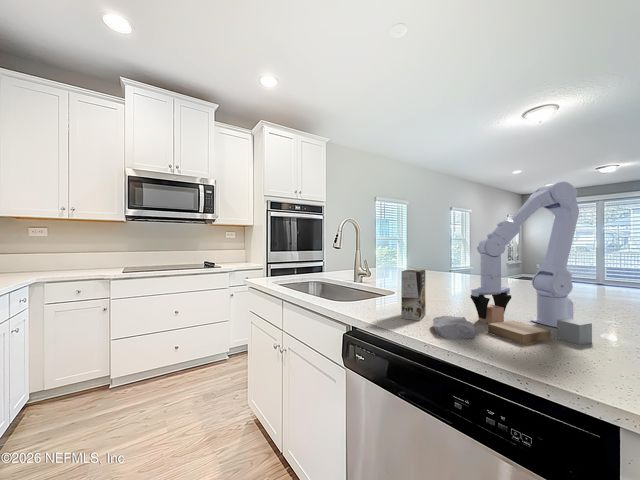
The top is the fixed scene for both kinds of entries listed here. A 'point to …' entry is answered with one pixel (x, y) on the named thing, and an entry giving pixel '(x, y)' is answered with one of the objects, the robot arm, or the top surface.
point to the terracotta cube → (494, 314)
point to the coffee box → (413, 295)
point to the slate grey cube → (574, 331)
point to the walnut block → (519, 332)
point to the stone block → (454, 327)
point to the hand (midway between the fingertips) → (490, 317)
